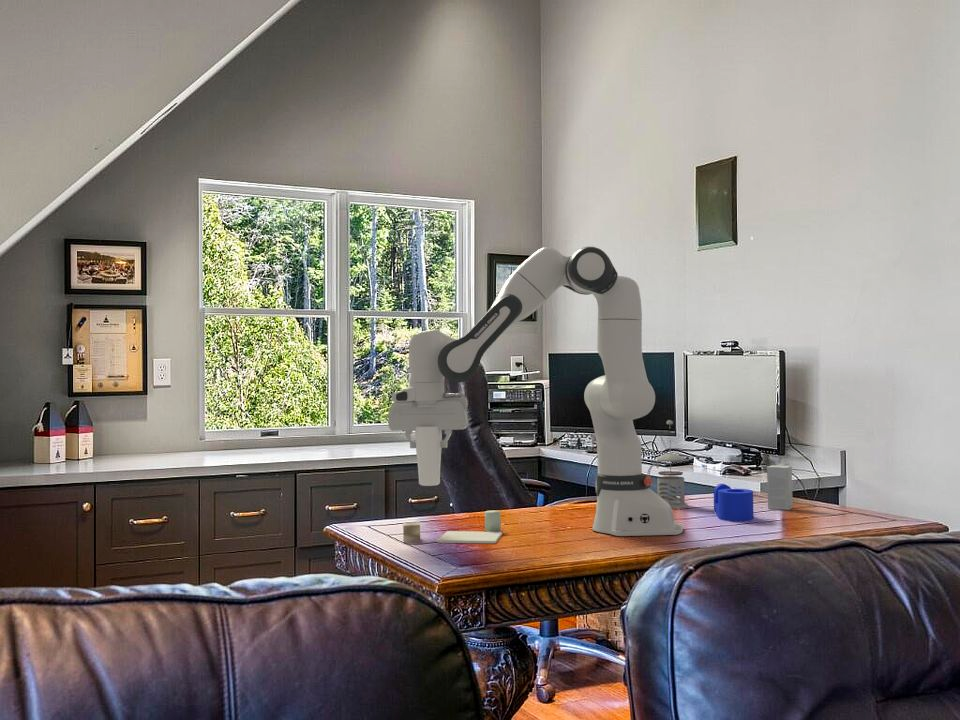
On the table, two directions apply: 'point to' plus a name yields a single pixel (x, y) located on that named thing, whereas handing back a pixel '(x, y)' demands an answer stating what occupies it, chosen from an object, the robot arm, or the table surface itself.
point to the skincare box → (779, 487)
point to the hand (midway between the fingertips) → (428, 448)
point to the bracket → (733, 503)
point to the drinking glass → (428, 454)
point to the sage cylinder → (493, 521)
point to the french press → (670, 481)
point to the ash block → (411, 531)
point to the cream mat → (469, 537)
